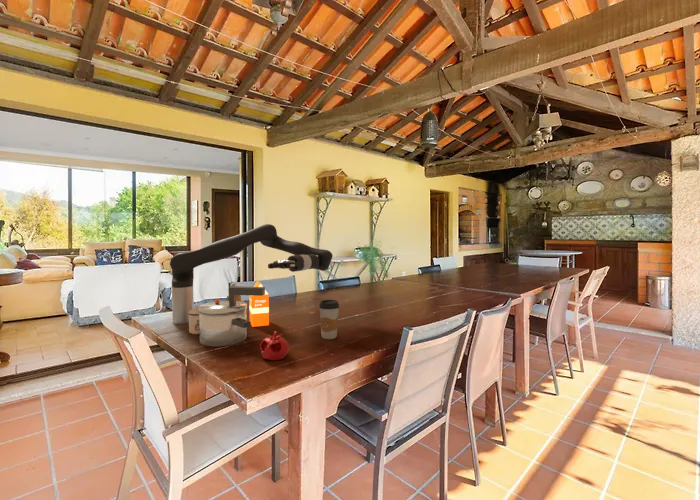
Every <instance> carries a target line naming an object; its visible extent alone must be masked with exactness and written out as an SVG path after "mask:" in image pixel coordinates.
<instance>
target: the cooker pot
mask: <svg viewBox="0 0 700 500" xmlns="http://www.w3.org/2000/svg"><path fill="white" fill-rule="evenodd" d="M199 325H200V334H199V343H200V344H201V345H204V346H206V347H207V346H208V347H222V346H223V347H225V346H231V345H235V344H239V343H241V342H244V341H245V340H246V339H247V337H248V336H247V332H248V331H247V328H251V327H252V325H251V321H250V320H247V309H246V310H244V311H241V312H237V313H232V314H223V315H208V314H202V313H199Z"/></svg>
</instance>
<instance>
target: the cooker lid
mask: <svg viewBox="0 0 700 500" xmlns="http://www.w3.org/2000/svg"><path fill="white" fill-rule="evenodd" d="M227 290H228V295H229V301H227V300H220V298H214V301H212V302H210V301H209V302H206V303H203V304H199V305H200V306H199V307H198V312H199V313H202V314H208V315H223V314H232V313H237V312H241V311H244V310H246V311H247V308H248V303H247V302H245V301H242V300H241V301H236V295H240V296H249V295H254V296H263V295H265V290H266V287H265V286H263V287H254V286H241V285H240V286H236V285H235V286H232V285H231V286H229V287H228V289H227Z"/></svg>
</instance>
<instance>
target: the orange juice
mask: <svg viewBox="0 0 700 500" xmlns="http://www.w3.org/2000/svg"><path fill="white" fill-rule="evenodd" d="M253 287H264V286H263V284H262V283H261V282H259V281H258V280H257V281H256V282H255V284H254V285H253ZM269 297H270V296H269V292H267V290H266V289H265V295H263V296H254V295H248V298H249V300H248V301H249V305H248V306H249V307H248V308H249V321H251V327H252V328H254V327H264V326H270V318H269V317H270V301H269V299H270V298H269Z"/></svg>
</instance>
